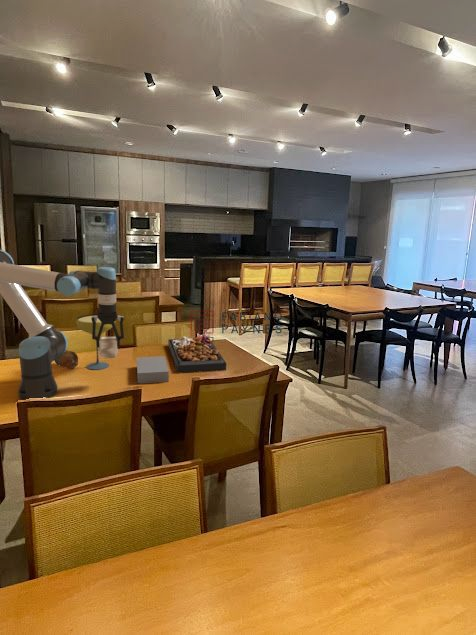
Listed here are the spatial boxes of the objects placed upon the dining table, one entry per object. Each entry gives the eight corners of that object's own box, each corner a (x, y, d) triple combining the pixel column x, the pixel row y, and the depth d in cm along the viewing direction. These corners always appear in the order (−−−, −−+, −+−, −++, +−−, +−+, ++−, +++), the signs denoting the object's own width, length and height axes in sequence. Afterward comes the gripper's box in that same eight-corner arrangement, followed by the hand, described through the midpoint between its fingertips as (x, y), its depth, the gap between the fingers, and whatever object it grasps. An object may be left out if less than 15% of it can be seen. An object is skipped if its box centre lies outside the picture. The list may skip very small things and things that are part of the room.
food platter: (168, 346, 248) (168, 329, 245) (208, 344, 254) (209, 328, 252) (177, 374, 205) (177, 354, 203) (226, 371, 212) (226, 351, 209)
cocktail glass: (123, 363, 216) (122, 316, 210) (102, 374, 199) (100, 324, 194) (93, 358, 221) (91, 312, 216) (70, 369, 205) (67, 320, 199)
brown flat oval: (53, 364, 211) (52, 348, 209) (58, 362, 213) (57, 347, 211) (74, 370, 204) (73, 354, 202) (79, 368, 207) (79, 352, 205)
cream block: (101, 358, 183) (100, 340, 181) (102, 354, 189) (101, 337, 187) (115, 357, 184) (115, 340, 183) (115, 353, 190) (115, 336, 188)
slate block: (137, 383, 191) (137, 373, 189) (136, 366, 211) (136, 357, 210) (168, 381, 194) (168, 371, 193) (164, 365, 215) (164, 356, 214)
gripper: (83, 305, 175) (85, 357, 180) (130, 304, 180) (130, 355, 185) (85, 301, 182) (86, 351, 187) (130, 301, 187) (130, 350, 192)
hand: (108, 353), depth 186 cm, fingers closed on cream block, 6 cm apart
